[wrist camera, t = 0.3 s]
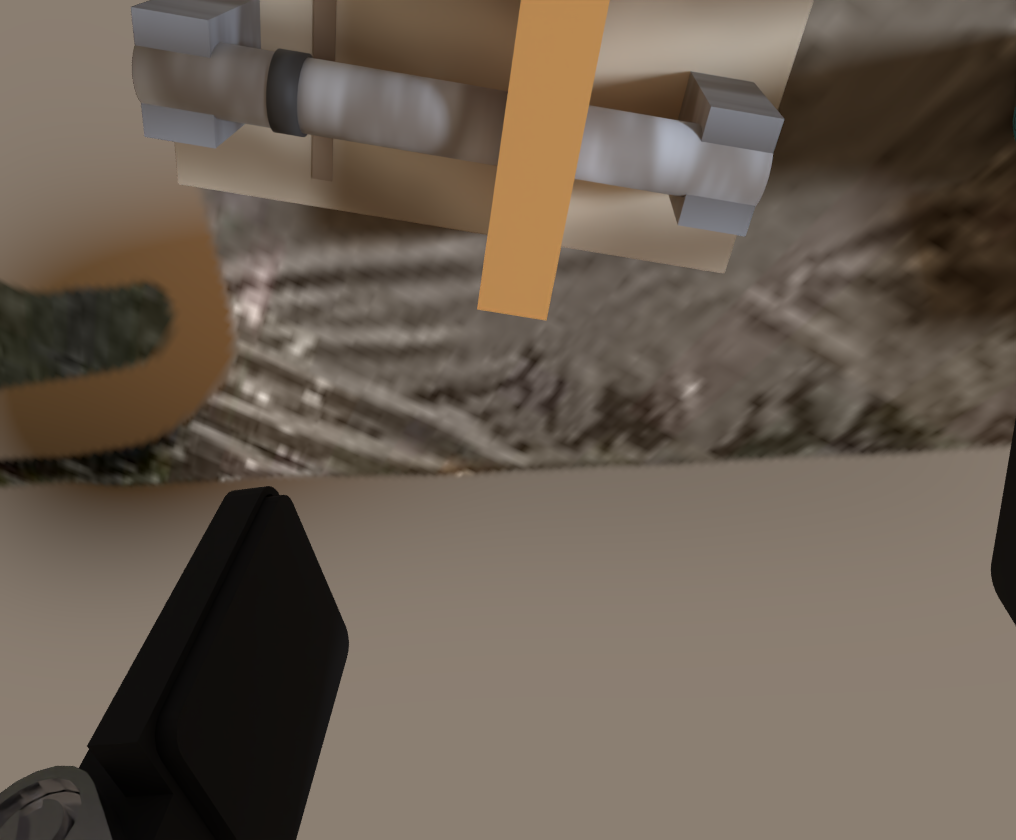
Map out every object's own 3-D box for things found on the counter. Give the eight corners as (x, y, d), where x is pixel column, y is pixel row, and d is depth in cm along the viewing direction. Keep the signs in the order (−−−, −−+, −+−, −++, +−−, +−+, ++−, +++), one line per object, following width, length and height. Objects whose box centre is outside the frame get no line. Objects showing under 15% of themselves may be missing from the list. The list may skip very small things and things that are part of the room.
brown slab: (533, -55, 34) (525, -34, 27) (604, -43, 34) (613, -19, 27) (491, 237, 41) (477, 309, 35) (549, 246, 41) (546, 320, 35)
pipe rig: (164, -140, 36) (64, -140, 28) (811, -25, 37) (871, 3, 29) (189, 174, 43) (115, 236, 36) (719, 261, 45) (749, 338, 37)
